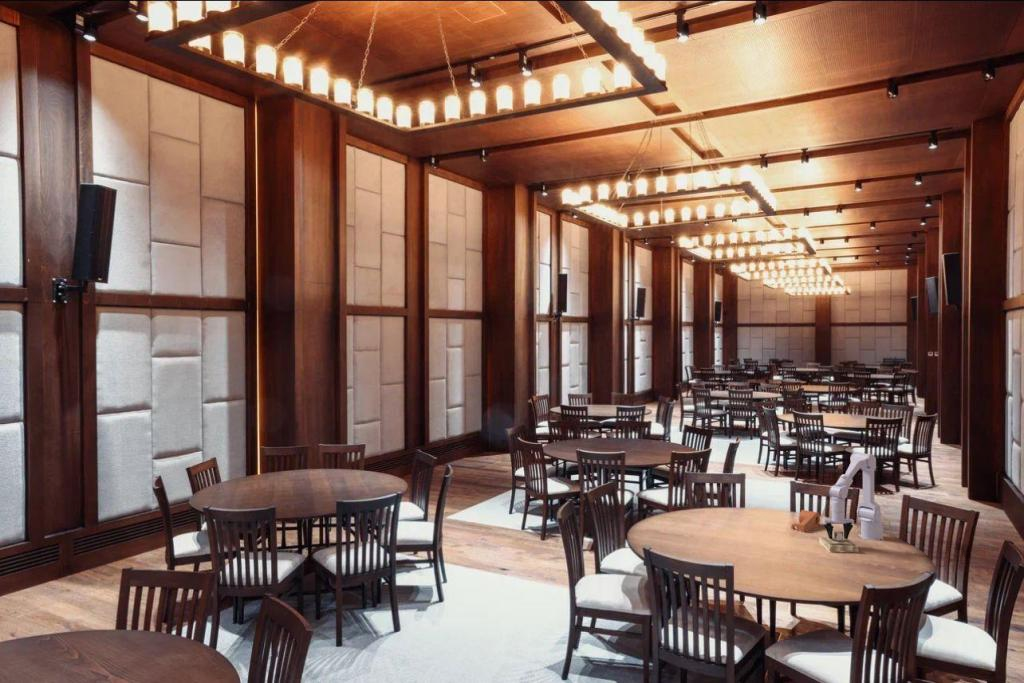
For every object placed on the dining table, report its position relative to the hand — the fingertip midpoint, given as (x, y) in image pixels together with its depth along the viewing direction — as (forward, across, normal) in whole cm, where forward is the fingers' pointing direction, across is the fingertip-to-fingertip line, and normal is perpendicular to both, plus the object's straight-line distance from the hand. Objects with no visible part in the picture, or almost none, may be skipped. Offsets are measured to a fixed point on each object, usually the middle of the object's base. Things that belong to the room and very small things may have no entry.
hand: (838, 538), depth 334 cm
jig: (+4, +1, +3) cm, 5 cm away
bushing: (+4, 0, 0) cm, 4 cm away
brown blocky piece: (+4, +1, -32) cm, 33 cm away
